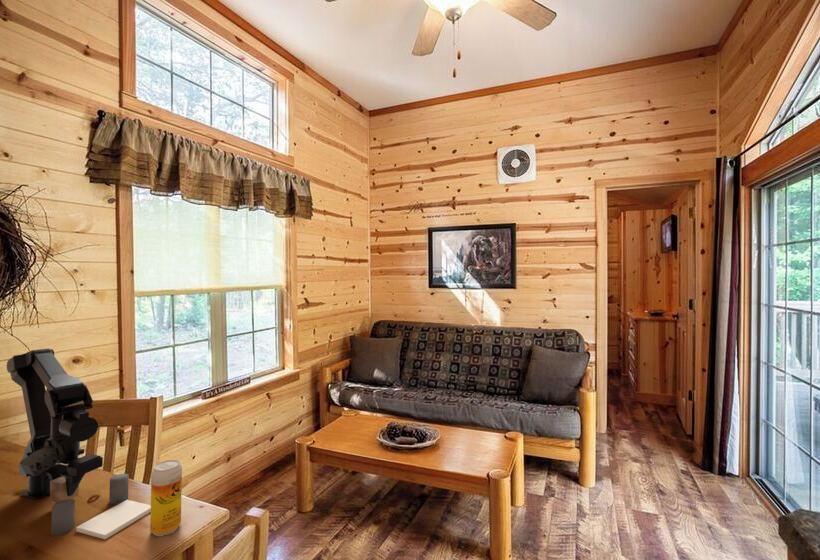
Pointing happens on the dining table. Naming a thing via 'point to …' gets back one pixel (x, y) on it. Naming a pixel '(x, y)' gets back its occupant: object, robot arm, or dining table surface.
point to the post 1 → (63, 517)
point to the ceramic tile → (114, 519)
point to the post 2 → (118, 489)
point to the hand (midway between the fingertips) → (64, 493)
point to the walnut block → (60, 490)
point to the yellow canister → (166, 497)
